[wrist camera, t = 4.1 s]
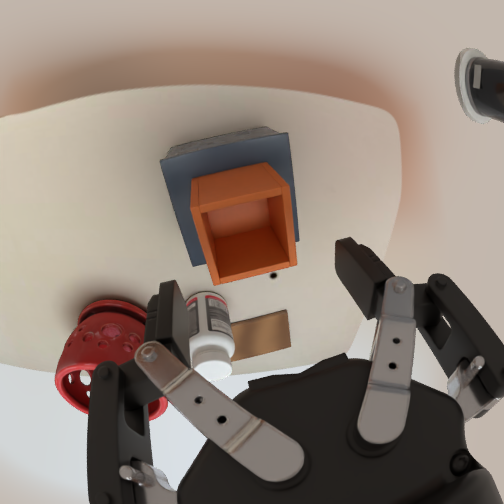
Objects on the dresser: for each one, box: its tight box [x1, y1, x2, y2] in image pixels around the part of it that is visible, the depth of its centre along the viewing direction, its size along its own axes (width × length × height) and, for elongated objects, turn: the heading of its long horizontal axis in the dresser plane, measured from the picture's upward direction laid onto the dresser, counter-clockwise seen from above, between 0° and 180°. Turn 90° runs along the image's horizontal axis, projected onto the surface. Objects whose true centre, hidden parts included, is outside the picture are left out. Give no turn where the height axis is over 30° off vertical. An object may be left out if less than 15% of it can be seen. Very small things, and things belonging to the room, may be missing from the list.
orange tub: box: [190, 162, 297, 286], centre depth 19 cm, size 6×6×6 cm
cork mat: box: [230, 310, 291, 362], centre depth 38 cm, size 12×8×1 cm, turn 99°
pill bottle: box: [186, 292, 235, 381], centre depth 30 cm, size 5×5×10 cm
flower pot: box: [55, 300, 168, 421], centre depth 28 cm, size 13×13×12 cm
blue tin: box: [160, 127, 299, 267], centre depth 23 cm, size 9×9×6 cm
